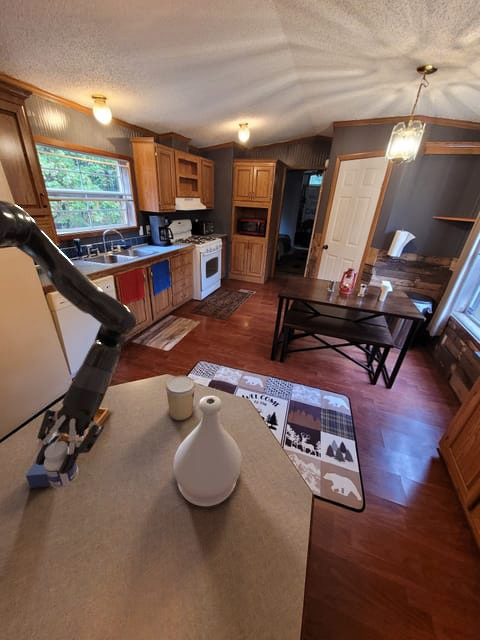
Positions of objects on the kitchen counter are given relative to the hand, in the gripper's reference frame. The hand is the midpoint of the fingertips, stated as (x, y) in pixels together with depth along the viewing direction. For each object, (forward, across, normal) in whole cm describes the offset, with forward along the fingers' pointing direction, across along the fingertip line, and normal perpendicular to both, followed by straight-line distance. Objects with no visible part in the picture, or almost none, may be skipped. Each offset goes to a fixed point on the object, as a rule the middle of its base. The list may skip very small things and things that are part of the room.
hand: (52, 468), depth 52 cm
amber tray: (-5, -16, +24) cm, 29 cm away
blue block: (+7, -10, +12) cm, 17 cm away
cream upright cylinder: (-16, +10, +35) cm, 40 cm away
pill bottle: (+3, 0, +5) cm, 6 cm away
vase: (-3, +28, +22) cm, 36 cm away
